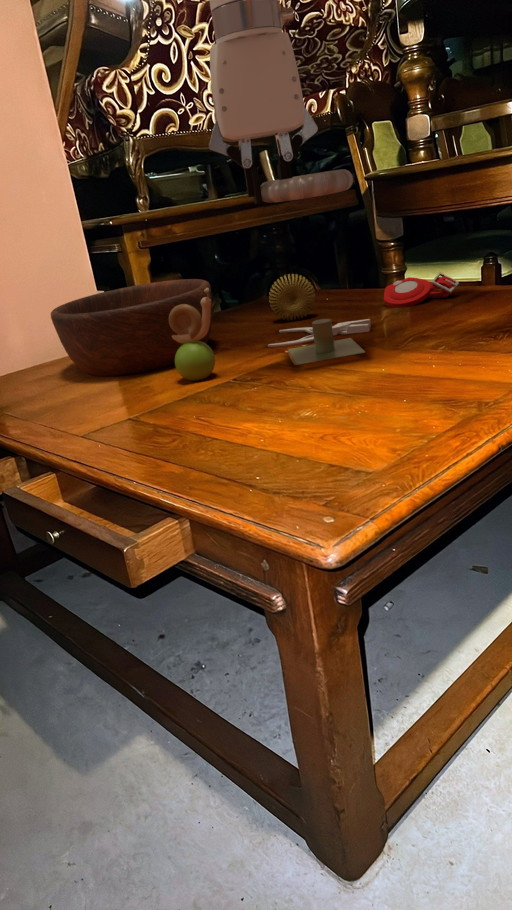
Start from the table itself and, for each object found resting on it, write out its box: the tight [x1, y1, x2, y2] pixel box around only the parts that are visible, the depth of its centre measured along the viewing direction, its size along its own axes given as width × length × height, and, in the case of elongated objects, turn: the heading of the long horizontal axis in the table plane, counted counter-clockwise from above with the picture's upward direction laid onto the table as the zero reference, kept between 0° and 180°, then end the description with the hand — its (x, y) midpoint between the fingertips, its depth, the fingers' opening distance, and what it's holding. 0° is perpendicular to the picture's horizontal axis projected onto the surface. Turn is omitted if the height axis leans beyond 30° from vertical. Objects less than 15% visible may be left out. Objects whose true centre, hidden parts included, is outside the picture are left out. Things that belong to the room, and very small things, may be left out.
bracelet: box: [260, 168, 354, 204], centre depth 84 cm, size 11×11×2 cm
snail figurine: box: [169, 288, 216, 382], centre depth 92 cm, size 5×6×12 cm
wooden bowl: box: [50, 278, 213, 377], centre depth 110 cm, size 25×25×10 cm
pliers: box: [267, 318, 372, 348], centre depth 106 cm, size 10×2×15 cm
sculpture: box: [268, 273, 316, 322], centre depth 119 cm, size 8×4×8 cm, turn 90°
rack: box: [287, 318, 366, 366], centre depth 93 cm, size 9×9×5 cm
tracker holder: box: [383, 271, 460, 308], centre depth 119 cm, size 12×4×10 cm
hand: (271, 198), depth 84 cm, fingers closed on bracelet, 2 cm apart
